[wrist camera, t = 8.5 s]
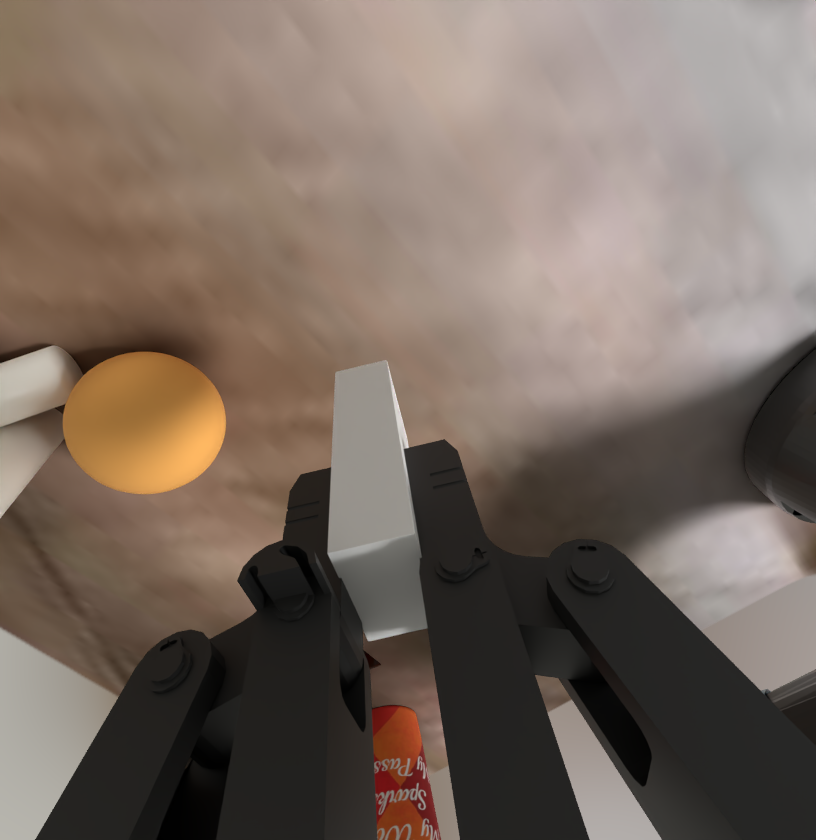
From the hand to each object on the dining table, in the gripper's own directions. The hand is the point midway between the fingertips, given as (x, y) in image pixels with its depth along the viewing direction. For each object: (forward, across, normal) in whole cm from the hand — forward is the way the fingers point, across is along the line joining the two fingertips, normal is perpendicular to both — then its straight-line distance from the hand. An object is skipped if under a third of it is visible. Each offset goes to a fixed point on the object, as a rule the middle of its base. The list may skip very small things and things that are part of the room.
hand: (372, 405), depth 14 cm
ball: (+6, +10, +2) cm, 12 cm away
